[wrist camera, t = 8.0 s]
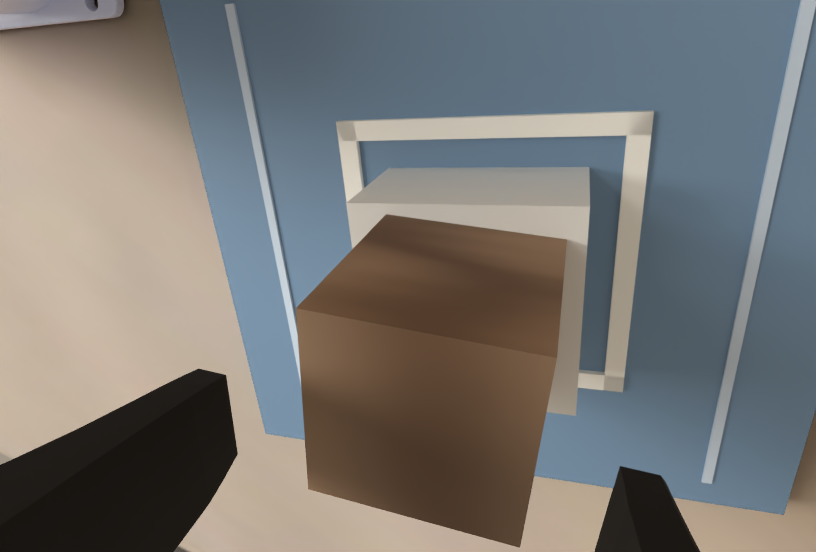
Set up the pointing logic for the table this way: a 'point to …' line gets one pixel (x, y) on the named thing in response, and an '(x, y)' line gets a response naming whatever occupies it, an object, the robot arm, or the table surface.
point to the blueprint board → (546, 147)
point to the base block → (502, 210)
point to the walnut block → (433, 372)
